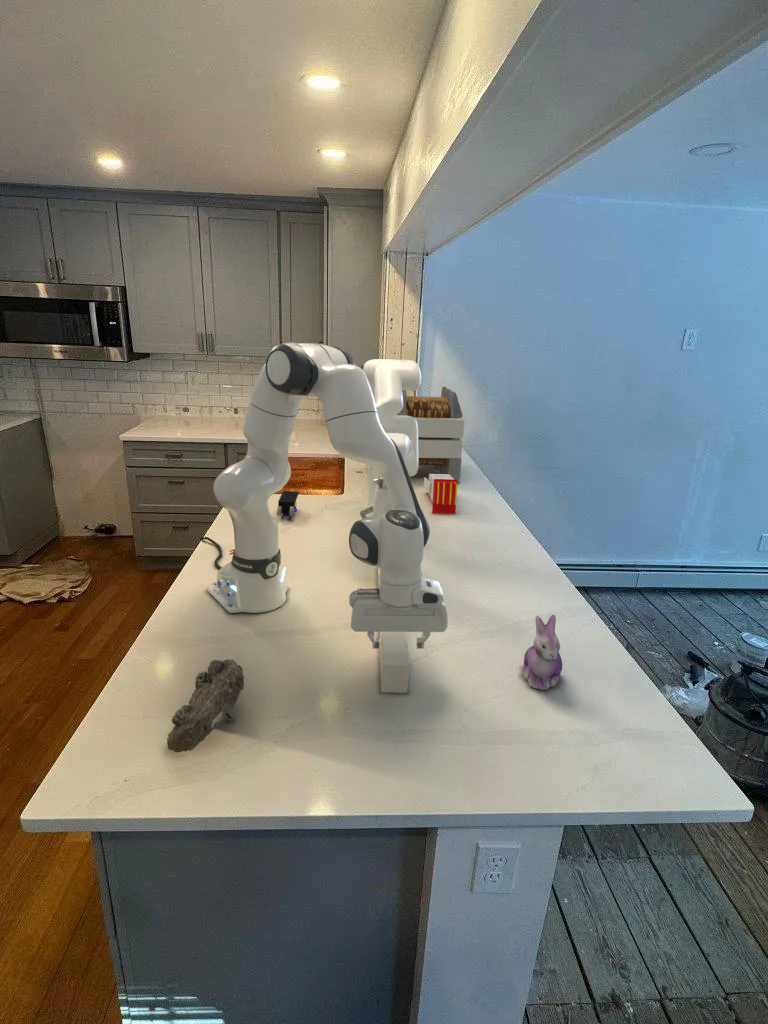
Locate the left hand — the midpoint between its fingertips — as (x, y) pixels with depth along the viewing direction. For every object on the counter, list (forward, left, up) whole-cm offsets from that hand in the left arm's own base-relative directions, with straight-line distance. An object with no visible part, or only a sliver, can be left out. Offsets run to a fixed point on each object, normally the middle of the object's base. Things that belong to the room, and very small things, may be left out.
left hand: (398, 647), depth 121 cm
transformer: (-94, +132, -7) cm, 162 cm away
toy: (-62, +102, -7) cm, 120 cm away
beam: (-16, +17, -7) cm, 25 cm away
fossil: (-17, -35, -7) cm, 39 cm away
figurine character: (-92, +47, -7) cm, 103 cm away
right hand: (-32, +35, +5) cm, 48 cm away
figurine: (+24, +21, -7) cm, 33 cm away
